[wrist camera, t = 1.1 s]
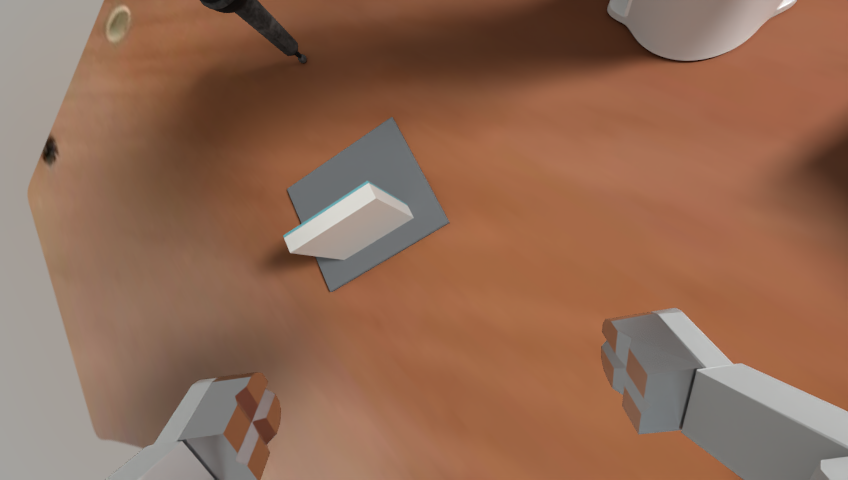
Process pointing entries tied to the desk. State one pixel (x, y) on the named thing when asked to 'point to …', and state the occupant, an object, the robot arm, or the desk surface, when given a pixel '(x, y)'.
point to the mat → (387, 169)
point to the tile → (349, 224)
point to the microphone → (259, 23)
